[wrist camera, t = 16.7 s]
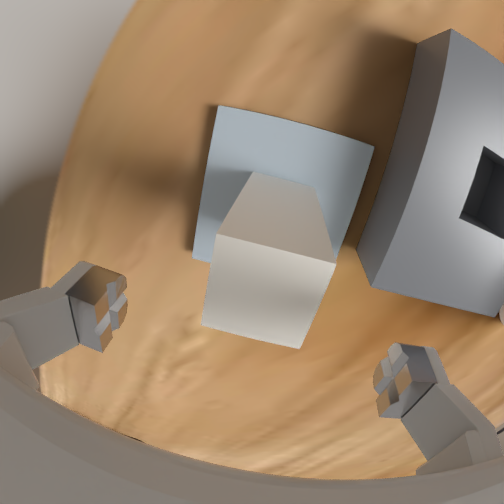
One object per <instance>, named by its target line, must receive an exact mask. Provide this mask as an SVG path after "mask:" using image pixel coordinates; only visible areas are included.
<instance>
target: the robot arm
mask: <svg viewBox="0 0 504 504" xmlns="http://www.w3.org/2000/svg"><path fill="white" fill-rule="evenodd" d="M126 288H127V283H126V277H125V276H124V275H122V274H119V273H116V272H114V271H111V270H108V269H105V268H102V267H100V266H97V265H94V264H91V263H88V262H85V261H81V262H79V263H78V264H76V265H75V266H74V267H73V268H72V269H71V270H70V271H69V272H68V273H66V274H65V275H64V276H63V277H62V278H61V279H60V280H59V281H58V282H57V283H56V284H55V285H54V286H52V287H51V288H49V287H44V288H41V289H38V290H35V291H31V292H28V293H24V294H21V295H18V296H15V297H12V298H8V299H5V300H2V301H0V504H504V456H503V452H502V449H501V446H500V442H499V439H498V436H497V433H496V430H495V427H494V425H493V424H492V423H491V422H490V421H489V420H488V419H487V418H486V417H485V416H484V415H483V414H482V413H481V412H480V411H479V410H478V409H477V408H476V407H475V406H474V405H473V404H472V403H471V402H470V401H469V400H468V399H467V398H466V397H465V396H464V395H463V394H462V393H461V392H460V391H459V390H458V389H457V388H456V387H455V386H454V385H451V384H450V382H449V380H448V377H447V375H446V372H445V370H444V367H443V365H442V362H441V360H440V358H439V355H438V353H437V351H436V350H435V349H434V348H433V347H425V346H415V345H409V344H402V343H396V342H395V343H394V344H393V345H391V347H390V348H389V349H388V351H387V353H388V357H386V358H385V359H383V360H381V361H380V362H379V364H378V365H377V367H376V369H375V372H374V375H373V385H374V389H375V390H376V392H377V393H378V394H379V396H378V398H377V399H376V402H377V408H378V414H379V417H384V418H399V419H401V421H402V423H403V424H404V426H405V427H406V429H407V430H408V432H409V433H410V435H411V436H412V438H413V439H414V441H415V442H416V444H417V445H418V447H419V448H420V450H421V451H422V453H423V455H424V456H425V458H426V459H427V462H425V463H424V464H423V465H421V466H420V467H418V468H417V470H416V475H415V476H407V477H397V478H383V479H358V480H339V479H314V478H300V477H290V476H281V475H273V474H265V473H259V472H253V471H247V470H241V469H236V468H231V467H226V466H222V465H217V464H213V463H209V462H205V461H201V460H197V459H193V458H190V457H186V456H183V455H179V454H176V453H173V452H170V451H166V450H163V449H160V448H157V447H154V446H152V445H149V444H146V443H143V442H141V441H138V440H135V439H133V438H130V437H128V436H125V435H123V434H120V433H118V432H115V431H113V430H111V429H109V428H106V427H104V426H102V425H100V424H98V423H95V422H93V421H91V420H89V419H87V418H85V417H83V416H81V415H79V414H77V413H75V412H73V411H71V410H69V409H68V408H66V407H64V406H62V405H60V404H59V403H57V402H55V401H53V400H52V399H50V398H48V397H46V396H45V395H43V394H41V393H40V392H38V391H37V389H38V387H39V383H38V380H37V378H36V377H35V374H34V372H33V369H34V368H37V367H38V366H40V365H42V364H44V363H46V362H48V361H50V360H51V359H53V358H55V357H57V356H59V355H61V354H62V353H64V352H66V351H68V350H70V349H72V348H74V347H75V346H77V345H79V343H80V344H82V345H84V346H87V347H89V348H92V349H94V350H97V351H99V352H102V353H103V351H104V350H105V348H106V347H107V345H108V344H109V342H110V341H111V340H112V338H113V337H112V331H113V330H116V329H118V328H120V326H121V324H122V323H123V321H124V319H125V316H126V313H127V306H128V304H127V298H126V296H125V295H124V293H123V292H124V290H125V289H126Z"/></svg>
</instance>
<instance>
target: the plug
mask: <svg viewBox="0 0 504 504" xmlns="http://www.w3.org/2000/svg"><path fill="white" fill-rule="evenodd" d="M335 267H336V260H335V256H334V253H333V249H332V245H331V242H330V238H329V235H328V231H327V227H326V224H325V221H324V217H323V214H322V210H321V207H320V204H319V201H318V197H317V194H316V191H315V188H314V187H311V186H307V185H303V184H300V183H296V182H292V181H289V180H285V179H281V178H277V177H273V176H269V175H265V174H261V173H257V172H253V173H252V174H251V176H250V178H249V179H248V181H247V182H246V184H245V186H244V187H243V189H242V191H241V192H240V194H239V196H238V197H237V199H236V201H235V202H234V204H233V206H232V207H231V209H230V211H229V212H228V214H227V216H226V218H225V219H224V221H223V223H222V224H221V226H220V228H219V229H218V231H217V233H216V237H215V243H214V248H213V254H212V260H211V265H210V271H209V277H208V283H207V289H206V295H205V302H204V308H203V314H202V321H201V325H203V326H206V327H210V328H213V329H217V330H221V331H225V332H229V333H232V334H236V335H240V336H244V337H249V338H253V339H257V340H261V341H265V342H270V343H274V344H279V345H283V346H288V347H293V348H297V349H300V347H301V345H302V343H303V341H304V338H305V336H306V334H307V332H308V330H309V328H310V325H311V323H312V321H313V319H314V316H315V314H316V312H317V310H318V307H319V305H320V303H321V300H322V298H323V296H324V293H325V291H326V289H327V286H328V284H329V282H330V279H331V277H332V274H333V272H334V269H335Z"/></svg>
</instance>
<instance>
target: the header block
mask: <svg viewBox="0 0 504 504" xmlns="http://www.w3.org/2000/svg"><path fill="white" fill-rule="evenodd" d="M356 251H357V253H358V256H359V258H360V261H361V263H362V265H363V268H364V270H365V273H366V275H367V278H368V281H369V283H370V286H371V287H373V288H377V289H381V290H385V291H389V292H393V293H397V294H401V295H405V296H409V297H413V298H417V299H421V300H425V301H429V302H433V303H438V304H442V305H446V306H450V307H454V308H458V309H462V310H466V311H470V312H474V313H479V314H483V315H487V316H491V317H495V316H496V315H497V313H498V312H499V310H500V309H501V307H502V305H503V304H504V64H503V63H501V62H500V61H499V60H498V59H496V58H495V57H494V56H492V55H491V54H489V53H488V52H487V51H485V50H484V49H482V48H481V47H480V46H478V45H477V44H475V43H474V42H472V41H471V40H469V39H468V38H466V37H464V36H463V35H461V34H460V33H458V32H456V31H455V30H453V29H449V30H447V31H444V32H442V33H439V34H437V35H435V36H432V37H430V38H428V39H426V40H423V41H421V42H419V43H417V48H416V53H415V58H414V63H413V68H412V73H411V77H410V82H409V86H408V90H407V94H406V98H405V102H404V106H403V110H402V114H401V118H400V121H399V125H398V128H397V132H396V135H395V139H394V142H393V146H392V149H391V152H390V156H389V159H388V162H387V165H386V168H385V171H384V174H383V177H382V180H381V183H380V186H379V189H378V192H377V195H376V198H375V201H374V203H373V206H372V209H371V212H370V215H369V217H368V220H367V223H366V225H365V228H364V230H363V233H362V236H361V238H360V241H359V243H358V246H357V248H356Z"/></svg>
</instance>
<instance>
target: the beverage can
mask: <svg viewBox="0 0 504 504" xmlns="http://www.w3.org/2000/svg"><path fill="white" fill-rule="evenodd" d="M499 315H500V320H501V322H502V324H503V325H504V304H503V305H502V307H501V309H500V312H499Z"/></svg>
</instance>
